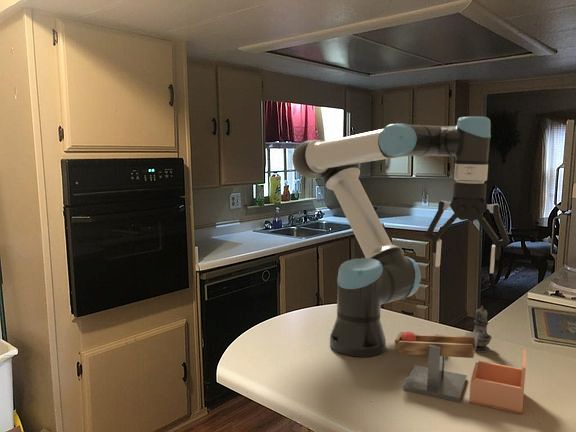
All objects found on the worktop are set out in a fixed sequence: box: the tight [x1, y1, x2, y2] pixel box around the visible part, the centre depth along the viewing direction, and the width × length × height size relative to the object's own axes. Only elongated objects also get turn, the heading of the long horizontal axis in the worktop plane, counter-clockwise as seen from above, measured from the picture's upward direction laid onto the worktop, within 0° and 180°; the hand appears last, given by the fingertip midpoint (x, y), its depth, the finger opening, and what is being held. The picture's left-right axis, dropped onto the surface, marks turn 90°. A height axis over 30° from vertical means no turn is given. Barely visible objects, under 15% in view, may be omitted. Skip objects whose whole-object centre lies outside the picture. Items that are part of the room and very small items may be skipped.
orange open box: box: [468, 349, 527, 415], centre depth 107 cm, size 10×10×10 cm
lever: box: [394, 331, 479, 359], centre depth 116 cm, size 17×14×3 cm
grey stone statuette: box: [472, 305, 493, 353], centre depth 133 cm, size 6×6×12 cm
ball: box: [401, 330, 416, 341], centre depth 115 cm, size 4×4×4 cm
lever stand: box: [402, 333, 467, 403], centre depth 113 cm, size 12×12×10 cm
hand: (464, 269), depth 122 cm, fingers open, 12 cm apart
